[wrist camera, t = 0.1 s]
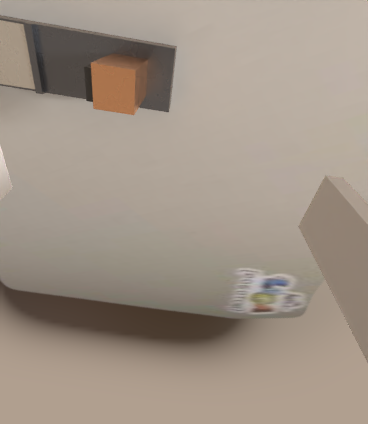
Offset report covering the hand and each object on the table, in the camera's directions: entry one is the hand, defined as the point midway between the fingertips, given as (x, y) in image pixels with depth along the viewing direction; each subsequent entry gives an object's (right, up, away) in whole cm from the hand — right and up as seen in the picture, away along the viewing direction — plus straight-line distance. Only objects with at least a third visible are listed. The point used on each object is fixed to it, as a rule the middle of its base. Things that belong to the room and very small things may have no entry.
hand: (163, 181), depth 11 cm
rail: (-12, +18, +22) cm, 31 cm away
